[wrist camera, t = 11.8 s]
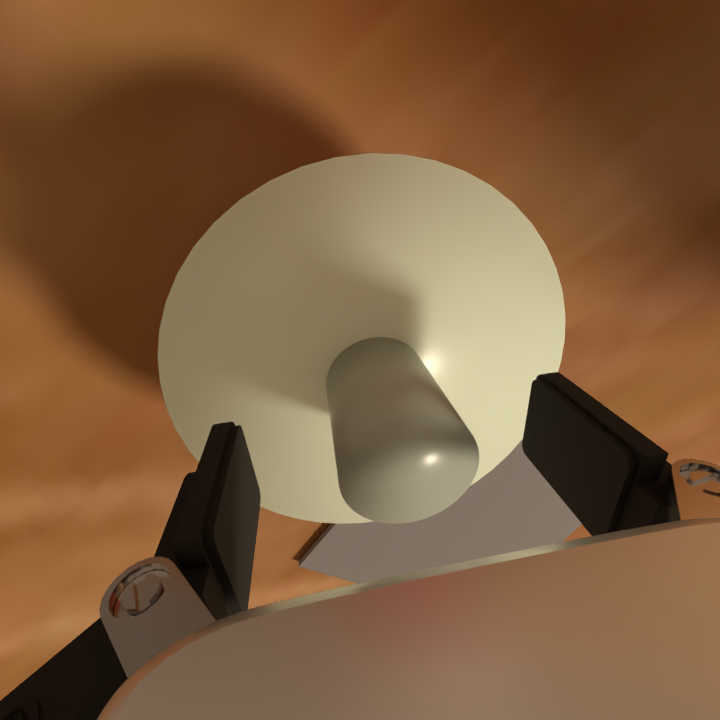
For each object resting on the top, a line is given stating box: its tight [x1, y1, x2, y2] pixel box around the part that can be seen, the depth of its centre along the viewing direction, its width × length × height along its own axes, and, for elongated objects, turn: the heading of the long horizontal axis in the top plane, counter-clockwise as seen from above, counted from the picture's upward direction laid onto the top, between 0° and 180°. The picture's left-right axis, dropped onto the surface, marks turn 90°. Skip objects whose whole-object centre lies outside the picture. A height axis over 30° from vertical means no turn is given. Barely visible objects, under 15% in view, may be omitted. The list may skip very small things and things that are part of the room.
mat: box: [299, 439, 582, 584], centre depth 30 cm, size 20×20×1 cm
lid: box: [158, 153, 565, 524], centre depth 13 cm, size 16×16×6 cm
